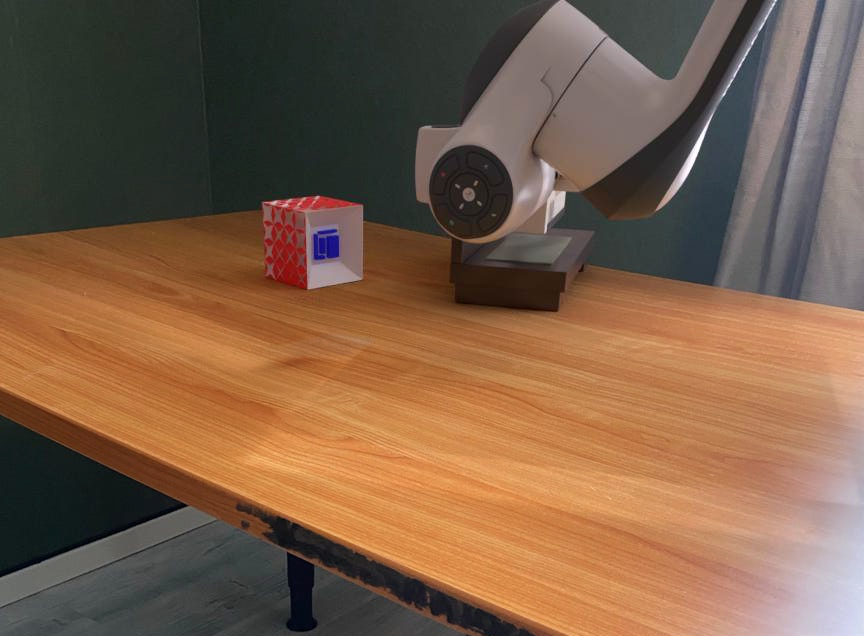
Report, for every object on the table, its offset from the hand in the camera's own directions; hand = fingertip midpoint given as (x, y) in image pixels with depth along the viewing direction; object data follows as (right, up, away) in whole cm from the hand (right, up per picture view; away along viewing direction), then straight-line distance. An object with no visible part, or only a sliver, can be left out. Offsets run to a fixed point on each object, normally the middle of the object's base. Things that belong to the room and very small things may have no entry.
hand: (533, 154), depth 101 cm
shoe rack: (+1, -9, +11) cm, 14 cm away
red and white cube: (-23, -9, +12) cm, 27 cm away
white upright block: (+1, -4, +6) cm, 8 cm away
